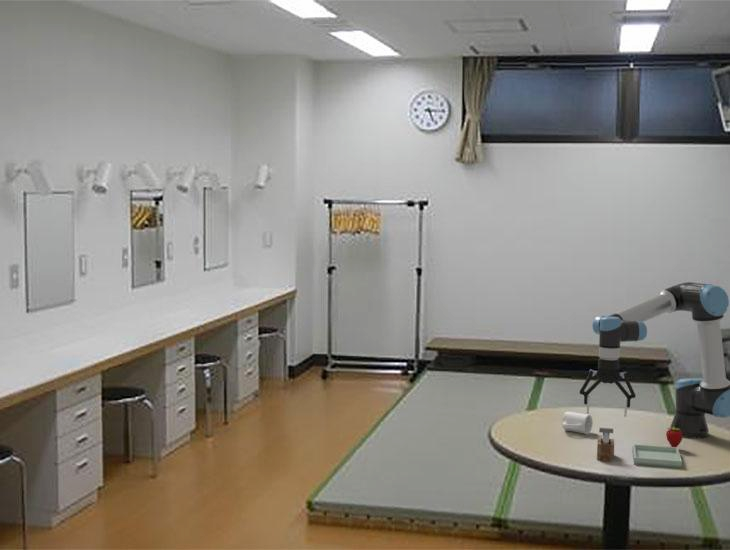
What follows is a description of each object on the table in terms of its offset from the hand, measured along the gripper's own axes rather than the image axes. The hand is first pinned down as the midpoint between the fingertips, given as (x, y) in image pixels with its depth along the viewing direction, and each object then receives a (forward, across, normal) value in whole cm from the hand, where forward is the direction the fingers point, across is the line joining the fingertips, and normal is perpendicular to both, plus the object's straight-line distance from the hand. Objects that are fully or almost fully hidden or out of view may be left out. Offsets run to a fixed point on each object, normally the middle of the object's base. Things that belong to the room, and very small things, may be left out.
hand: (606, 414), depth 352 cm
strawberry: (+16, -26, -20) cm, 37 cm away
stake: (+16, 0, 0) cm, 16 cm away
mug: (+16, +12, -34) cm, 40 cm away
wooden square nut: (+16, 0, 0) cm, 16 cm away
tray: (+16, -19, -3) cm, 25 cm away
